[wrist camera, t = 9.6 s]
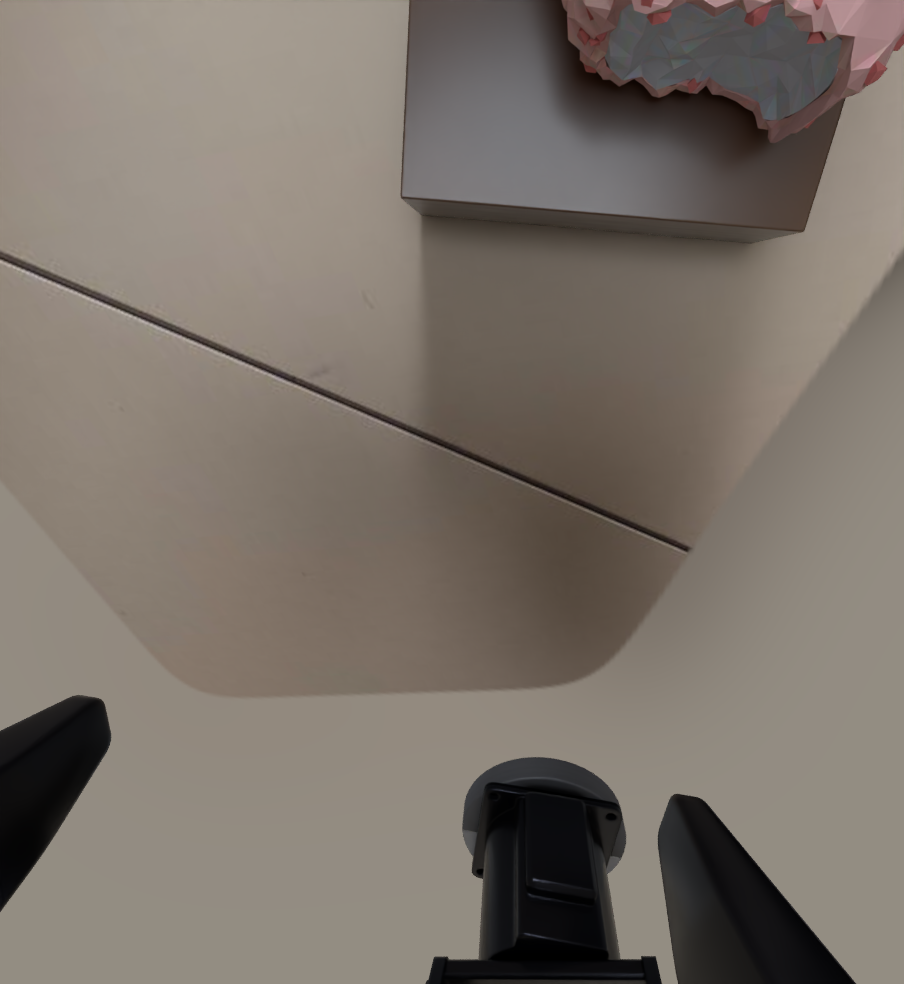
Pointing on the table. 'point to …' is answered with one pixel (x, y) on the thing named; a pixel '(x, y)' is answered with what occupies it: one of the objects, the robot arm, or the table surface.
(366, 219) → the table surface
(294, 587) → the table surface
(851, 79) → the ice cream bar
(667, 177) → the shelf
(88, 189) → the table surface
